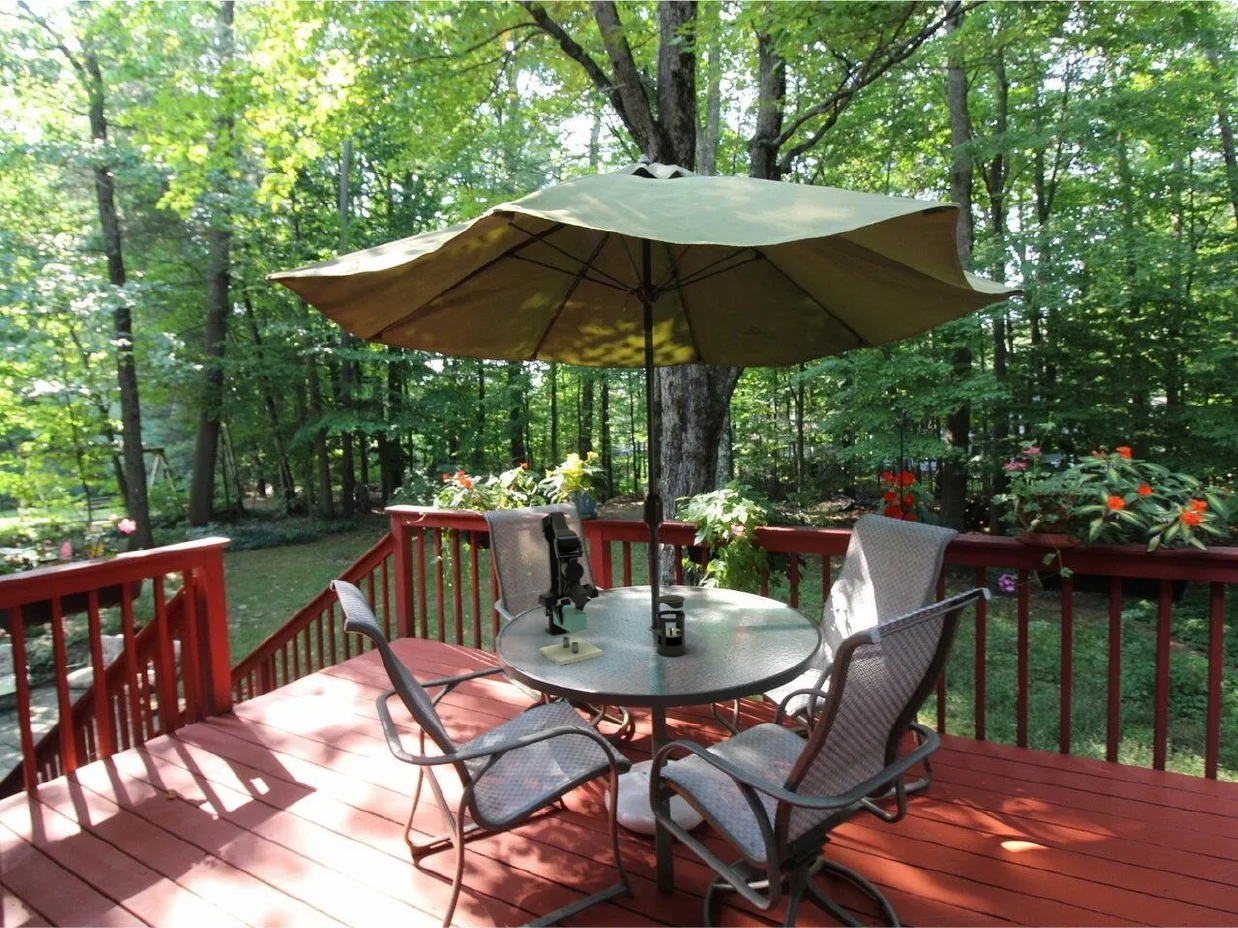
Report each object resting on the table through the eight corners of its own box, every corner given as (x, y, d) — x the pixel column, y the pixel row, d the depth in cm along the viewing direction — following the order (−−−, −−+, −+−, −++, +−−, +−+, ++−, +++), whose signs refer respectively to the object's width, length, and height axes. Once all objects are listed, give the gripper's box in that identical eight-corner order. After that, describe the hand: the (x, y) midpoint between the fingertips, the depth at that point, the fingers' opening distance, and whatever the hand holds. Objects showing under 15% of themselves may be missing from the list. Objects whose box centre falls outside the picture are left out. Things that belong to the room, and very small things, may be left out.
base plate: (539, 652, 210) (539, 648, 210) (580, 643, 218) (580, 638, 218) (559, 666, 198) (559, 661, 198) (602, 655, 206) (602, 650, 206)
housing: (570, 632, 201) (570, 616, 201) (553, 623, 211) (553, 607, 211) (587, 629, 204) (586, 613, 204) (569, 619, 214) (568, 604, 214)
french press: (675, 659, 201) (673, 585, 199) (649, 653, 206) (647, 581, 205) (694, 648, 210) (693, 576, 209) (669, 643, 216) (668, 573, 214)
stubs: (561, 646, 211) (561, 637, 211) (567, 645, 212) (567, 636, 212) (574, 653, 204) (573, 644, 204) (579, 652, 205) (579, 642, 205)
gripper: (552, 583, 195) (554, 635, 196) (607, 574, 205) (608, 623, 206) (536, 576, 204) (538, 626, 205) (589, 567, 214) (590, 615, 215)
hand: (569, 622), depth 208 cm, fingers closed on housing, 6 cm apart
